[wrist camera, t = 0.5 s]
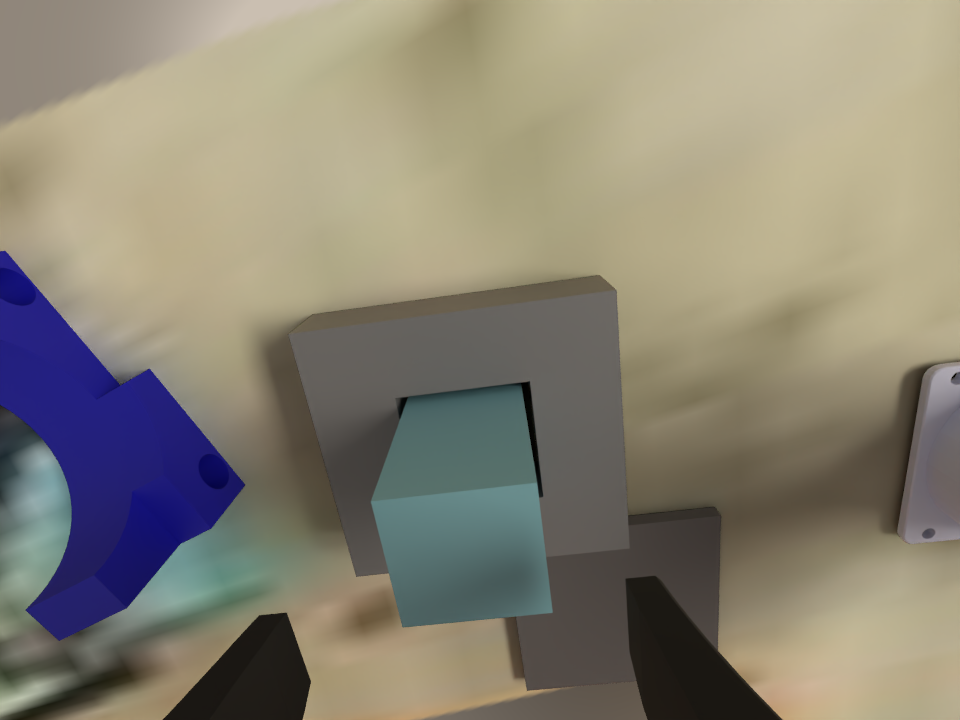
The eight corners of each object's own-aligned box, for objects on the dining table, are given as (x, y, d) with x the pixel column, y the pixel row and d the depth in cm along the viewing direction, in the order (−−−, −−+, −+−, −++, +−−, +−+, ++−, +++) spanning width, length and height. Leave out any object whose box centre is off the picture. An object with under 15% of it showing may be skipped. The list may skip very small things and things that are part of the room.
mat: (714, 506, 21) (720, 515, 21) (711, 662, 24) (717, 673, 24) (503, 529, 22) (503, 538, 21) (526, 678, 25) (527, 690, 24)
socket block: (599, 275, 18) (616, 290, 16) (613, 507, 22) (629, 548, 19) (313, 314, 19) (287, 334, 16) (370, 534, 22) (356, 576, 20)
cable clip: (247, 482, 22) (162, 590, 16) (166, 523, 22) (59, 640, 17) (39, 229, 18) (-164, 254, 13) (-48, 289, 19) (-274, 338, 13)
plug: (517, 364, 19) (537, 483, 12) (529, 454, 21) (552, 612, 13) (415, 377, 20) (370, 501, 12) (432, 466, 21) (402, 627, 14)
